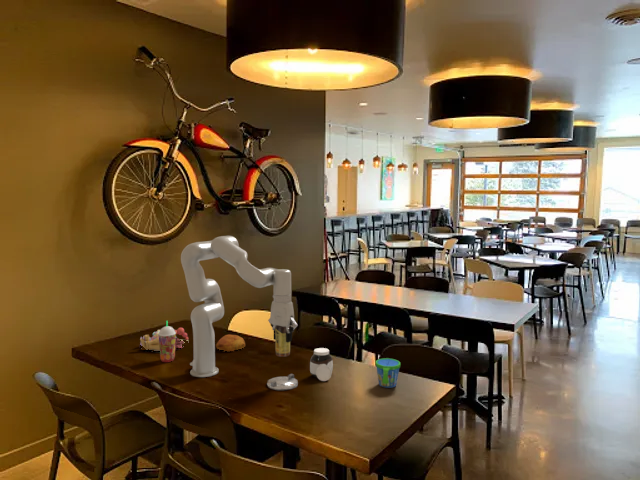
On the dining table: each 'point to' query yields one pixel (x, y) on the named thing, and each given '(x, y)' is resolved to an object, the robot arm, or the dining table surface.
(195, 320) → the robot arm
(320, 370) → the spread jar
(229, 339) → the bread bun
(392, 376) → the snack cup
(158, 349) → the candy landscape model
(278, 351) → the sauce bottle
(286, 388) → the base
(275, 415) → the dining table surface
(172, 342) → the smoothie
